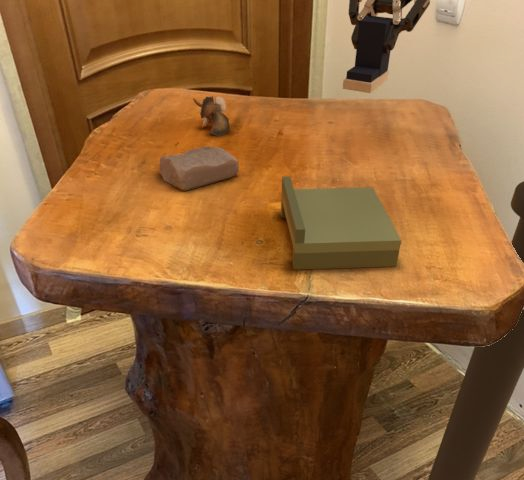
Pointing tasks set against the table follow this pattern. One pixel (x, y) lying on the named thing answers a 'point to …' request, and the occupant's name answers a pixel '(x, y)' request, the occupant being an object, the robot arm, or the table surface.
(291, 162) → the table surface
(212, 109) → the brown animal figurine
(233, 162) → the stone block
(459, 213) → the table surface
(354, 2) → the robot arm
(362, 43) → the high-top shoe
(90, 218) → the table surface
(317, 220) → the green flanged plate
